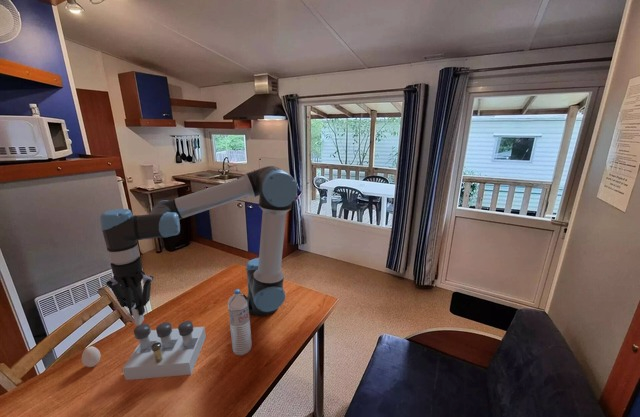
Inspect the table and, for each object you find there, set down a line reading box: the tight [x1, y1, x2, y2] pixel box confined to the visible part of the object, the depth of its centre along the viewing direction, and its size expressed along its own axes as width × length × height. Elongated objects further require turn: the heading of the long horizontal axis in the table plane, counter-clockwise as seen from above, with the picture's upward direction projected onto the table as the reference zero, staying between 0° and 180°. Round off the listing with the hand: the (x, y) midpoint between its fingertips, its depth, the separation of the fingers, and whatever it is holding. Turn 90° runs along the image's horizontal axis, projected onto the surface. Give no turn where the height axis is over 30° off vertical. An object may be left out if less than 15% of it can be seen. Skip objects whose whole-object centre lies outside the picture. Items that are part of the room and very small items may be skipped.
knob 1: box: [133, 323, 151, 349], centre depth 88 cm, size 4×4×7 cm
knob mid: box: [155, 321, 173, 348], centre depth 89 cm, size 4×4×7 cm
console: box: [122, 326, 207, 381], centre depth 91 cm, size 20×16×5 cm
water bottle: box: [227, 288, 253, 356], centre depth 92 cm, size 7×7×25 cm
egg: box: [81, 345, 101, 368], centre depth 87 cm, size 5×5×7 cm
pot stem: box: [151, 342, 163, 363], centre depth 83 cm, size 3×3×6 cm
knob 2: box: [177, 320, 194, 346], centre depth 90 cm, size 4×4×7 cm
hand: (139, 322), depth 86 cm, fingers closed
